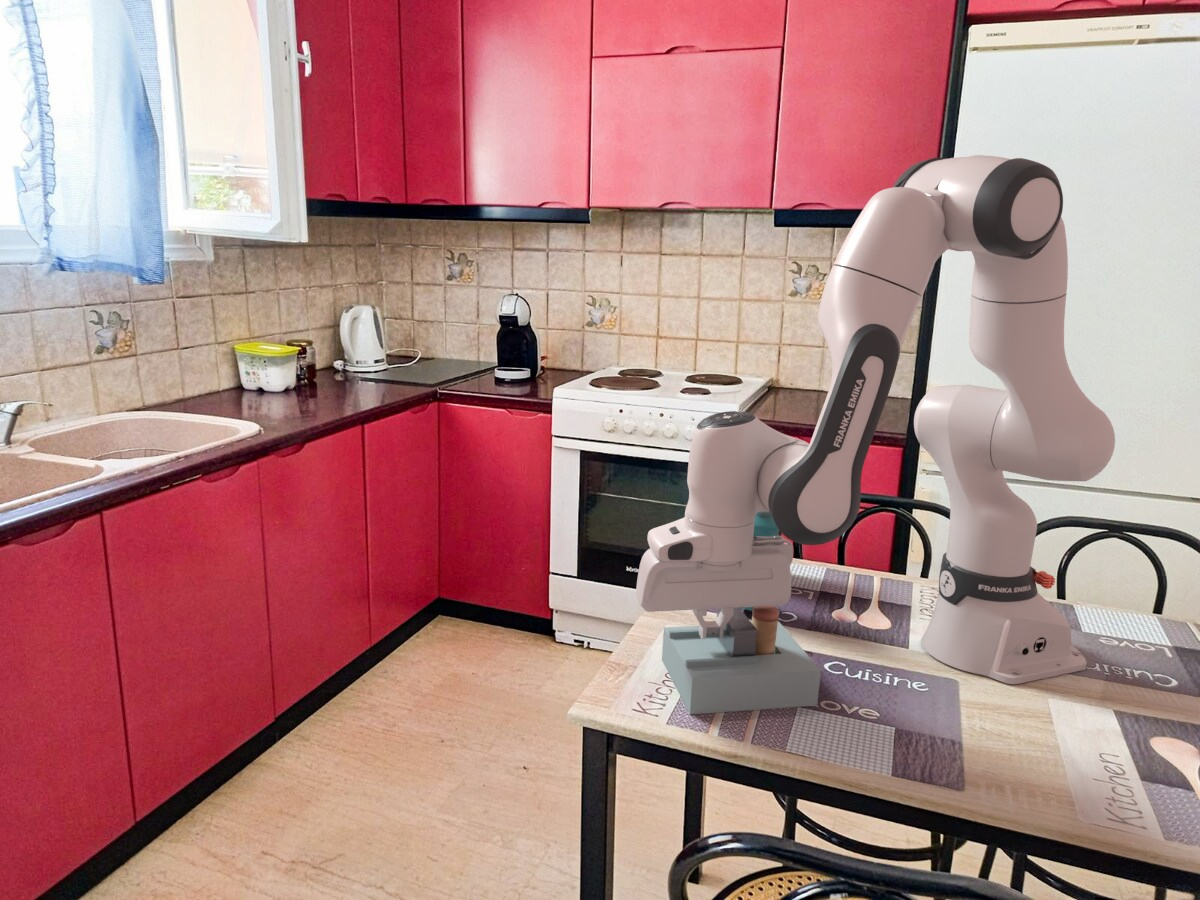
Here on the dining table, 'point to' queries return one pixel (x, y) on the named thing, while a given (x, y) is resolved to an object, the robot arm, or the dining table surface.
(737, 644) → the bar
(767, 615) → the pin
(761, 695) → the block
